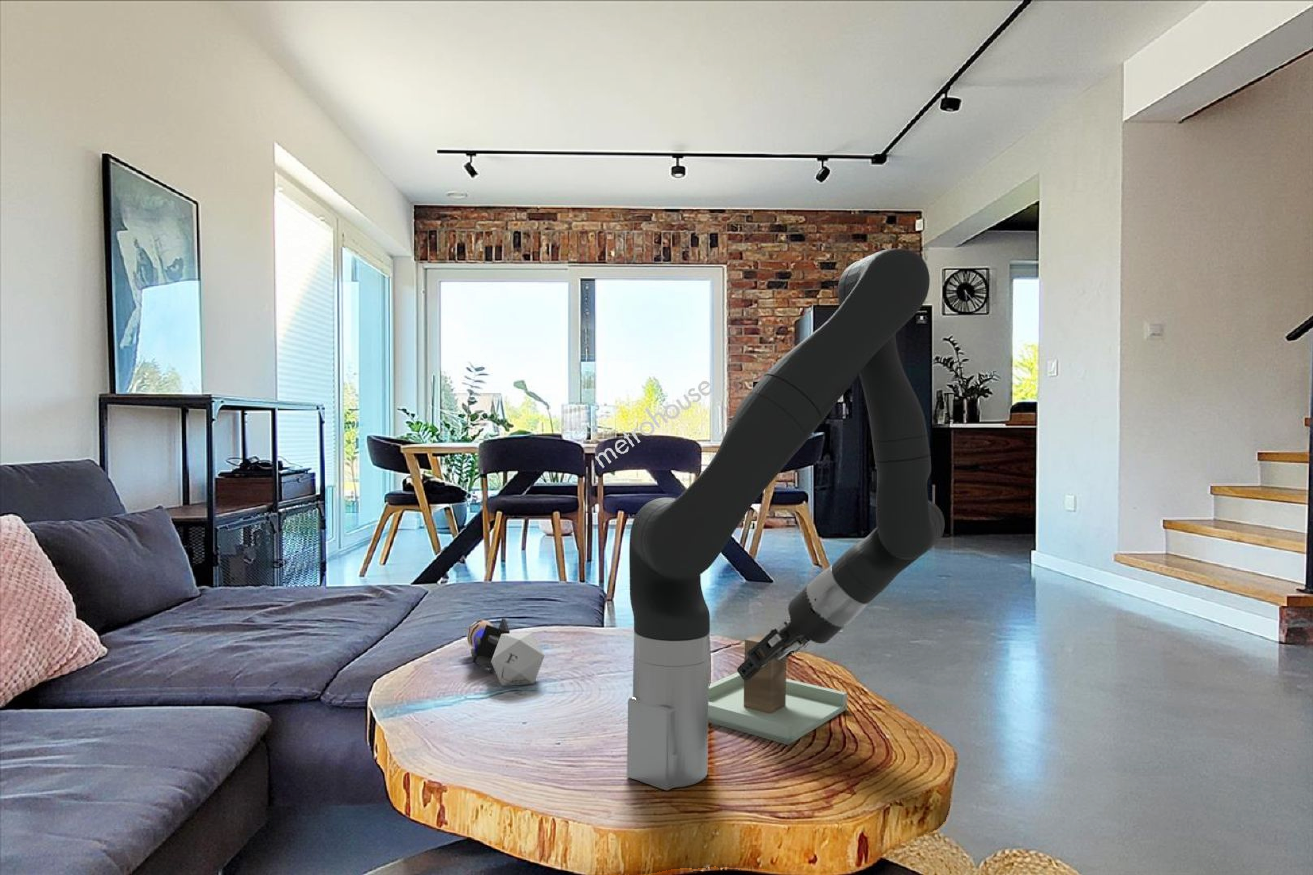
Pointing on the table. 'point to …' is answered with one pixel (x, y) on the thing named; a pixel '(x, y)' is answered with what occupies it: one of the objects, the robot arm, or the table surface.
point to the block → (765, 682)
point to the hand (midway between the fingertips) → (756, 668)
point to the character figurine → (485, 641)
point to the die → (517, 659)
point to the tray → (784, 725)
